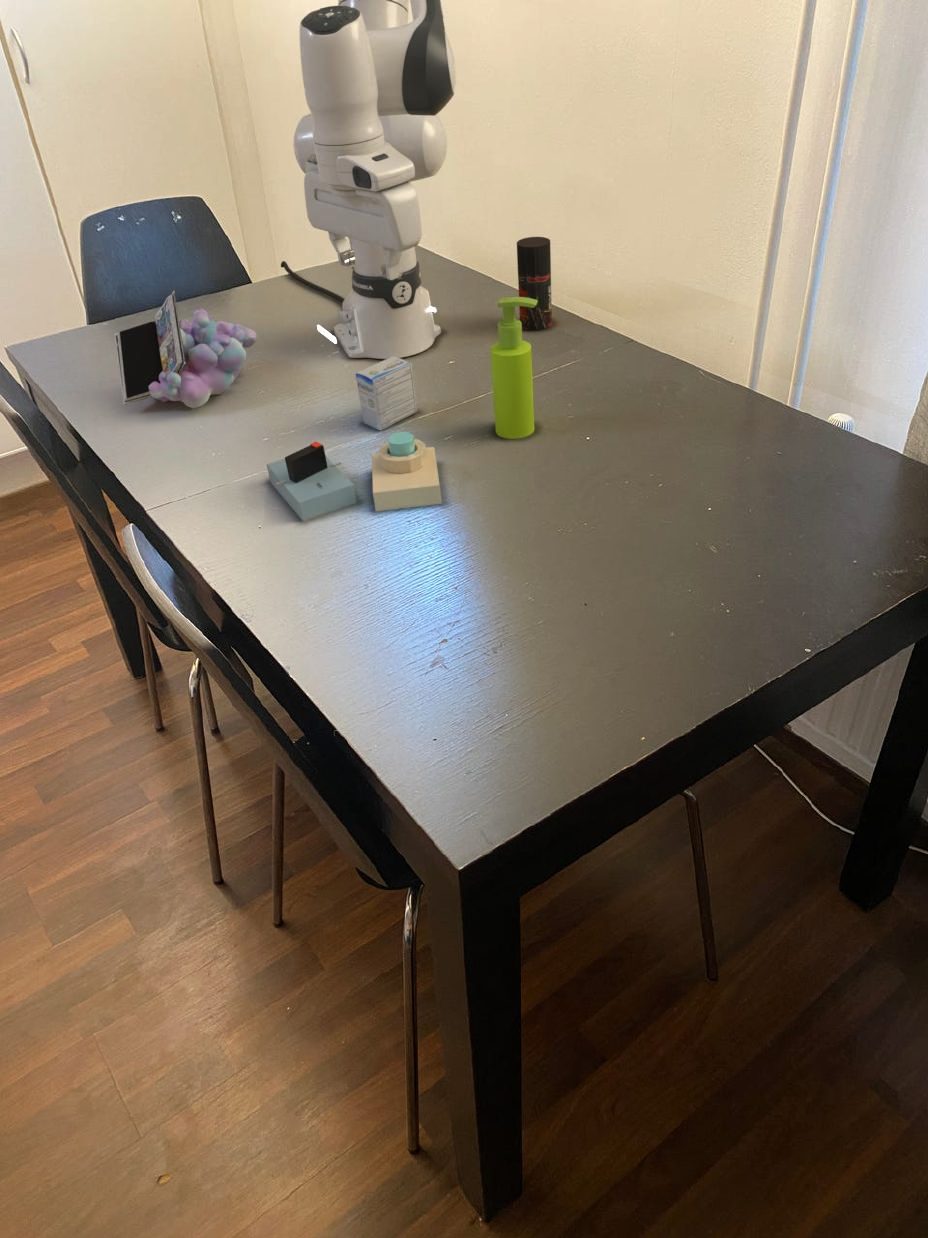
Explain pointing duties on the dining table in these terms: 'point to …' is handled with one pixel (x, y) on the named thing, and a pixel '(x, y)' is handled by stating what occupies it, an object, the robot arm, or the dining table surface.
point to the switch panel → (313, 490)
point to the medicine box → (386, 392)
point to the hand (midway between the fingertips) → (369, 271)
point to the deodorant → (535, 282)
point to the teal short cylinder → (401, 444)
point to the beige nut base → (405, 478)
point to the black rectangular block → (306, 462)
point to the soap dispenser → (512, 374)
